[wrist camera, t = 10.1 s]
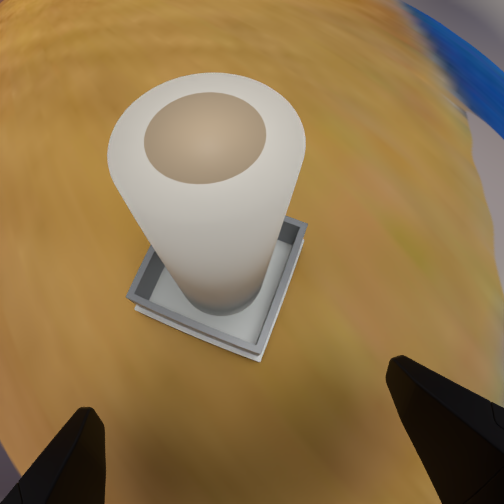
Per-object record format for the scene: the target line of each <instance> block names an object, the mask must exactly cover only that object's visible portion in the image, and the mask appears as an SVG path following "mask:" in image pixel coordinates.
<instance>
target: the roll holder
mask: <svg viewBox="0 0 504 504" xmlns="http://www.w3.org/2000/svg"><path fill="white" fill-rule="evenodd" d="M307 225H308V224H307V223H304V222H301V221H299V220H296V219H293V218H291V217H288V216H285V218H284V221H283V224H282V227H281V230H280V233H279V236H278V239H277V242H276V245H275V248H274V251H273V254H272V257H271V260H270V263H269V266H268V269H267V272H266V275H265V278H264V281H263V284H262V287H261V290H260V292H259V294H258V296H257V297H256V299H255V300H254V301H253V303H252V304H251V305H250V306H248V307H247V308H246V309H244V310H243V311H241V312H239V313H236V314H233V315H229V316H213V315H209V314H206V313H204V312H202V311H200V310H198V309H197V308H195V307H194V306H193V305H192V304H191V303H190V302H189V301H188V299H187V298H186V297H185V295H184V294H183V292H182V291H181V289H180V288H179V286H178V285H177V283H176V282H175V280H174V279H173V277H172V276H171V274H170V273H169V271H168V270H167V268H166V267H165V265H164V264H163V262H162V261H161V259H160V258H159V256H158V255H157V253H156V251H155V250H154V248H153V247H152V245H151V246H150V248H149V250H148V252H147V254H146V256H145V258H144V260H143V262H142V264H141V266H140V268H139V270H138V272H137V274H136V276H135V278H134V280H133V283H132V285H131V287H130V289H129V291H128V293H127V295H126V298H127V299H129V300H130V301H132V302H133V303H135V304H136V307H135V310H136V311H138V312H140V313H142V314H145V315H147V316H149V317H151V318H153V319H155V320H158V321H160V322H162V323H164V324H166V325H169V326H171V327H173V328H175V329H178V330H180V331H182V332H185V333H187V334H189V335H192V336H194V337H196V338H199V339H201V340H204V341H206V342H208V343H211V344H213V345H216V346H218V347H221V348H223V349H226V350H228V351H231V352H233V353H236V354H239V355H241V356H244V357H247V358H249V359H252V360H255V361H257V362H260V361H261V359H262V356H263V353H264V351H265V348H266V346H267V343H268V340H269V338H270V335H271V332H272V330H273V327H274V324H275V322H276V319H277V316H278V313H279V311H280V308H281V305H282V302H283V300H284V297H285V294H286V291H287V289H288V286H289V283H290V280H291V277H292V275H293V272H294V269H295V266H296V263H297V260H298V257H299V254H300V252H301V249H302V246H303V243H304V240H303V237H304V234H305V231H306V228H307Z"/></svg>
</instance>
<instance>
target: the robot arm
mask: <svg viewBox="0 0 504 504" xmlns="http://www.w3.org/2000/svg"><path fill="white" fill-rule="evenodd" d="M386 383H387V386H388V388H389V391H390V393H391V396H392V398H393V401H394V404H395V406H396V409H397V412H398V414H399V417H400V419H401V422H402V424H403V426H404V428H405V430H406V432H407V433H408V435H409V437H410V439H411V441H412V443H413V445H414V447H415V449H416V451H417V453H418V455H419V457H420V459H421V461H422V463H423V465H424V467H425V469H426V471H427V473H428V475H429V477H430V479H431V482H432V484H433V486H434V488H435V490H436V492H437V494H438V496H439V498H440V500H441V503H442V504H504V408H503V407H501V406H499V405H497V404H495V403H493V402H490V401H489V400H487V399H485V398H483V397H481V396H479V395H478V394H476V393H474V392H472V391H470V390H468V389H466V388H464V387H462V386H460V385H459V384H457V383H455V382H453V381H451V380H449V379H447V378H445V377H443V376H442V375H440V374H438V373H436V372H434V371H432V370H430V369H428V368H427V367H425V366H423V365H421V364H419V363H417V362H415V361H413V360H412V359H410V358H408V357H406V356H404V355H400V356H397V357H394V358H391V360H390V361H389V365H388V369H387V373H386ZM105 481H106V460H105V428H104V424H103V422H102V421H101V419H100V418H99V416H98V415H97V413H96V412H95V410H94V409H93V408H91V407H80V408H79V409H78V410H77V411H76V412H75V413H74V414H73V416H72V417H71V418H70V419H69V420H68V422H67V423H66V424H65V425H64V426H63V427H62V429H61V430H60V431H59V432H58V433H57V435H56V436H55V437H54V438H53V439H52V441H51V442H50V443H49V444H48V446H47V447H46V448H45V449H44V450H43V452H42V453H41V454H40V455H39V456H38V458H37V459H36V460H35V461H34V463H33V464H32V465H31V466H30V468H29V469H28V470H27V471H26V472H25V474H24V475H23V476H22V478H21V479H20V480H19V483H17V484H16V485H15V486H14V487H13V489H12V490H11V491H10V492H9V493H8V495H7V496H6V497H5V498H4V499H3V501H2V502H1V503H0V504H104V503H105Z"/></svg>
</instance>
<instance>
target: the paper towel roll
mask: <svg viewBox="0 0 504 504" xmlns="http://www.w3.org/2000/svg"><path fill="white" fill-rule="evenodd" d="M305 148H306V147H305V133H304V128H303V126H302V123H301V120H300V118H299V116H298V115H297V113H296V111H295V110H294V108H293V107H292V106H291V104H290V103H289V102H288V101H287V100H286V99H285V98H284V97H283V96H281V95H280V94H279V93H277V92H276V91H275V90H273V89H272V88H270V87H268V86H267V85H265V84H262V83H260V82H258V81H256V80H253V79H250V78H247V77H243V76H239V75H234V74H227V73H200V74H192V75H187V76H183V77H179V78H176V79H173V80H170V81H167V82H165V83H163V84H160V85H158V86H156V87H155V88H153V89H151V90H149V91H148V92H146V93H145V94H143V95H142V96H141V97H139V98H138V99H137V100H136V101H134V102H133V103H132V104H131V105H130V106H129V107H128V108H127V109H126V111H125V112H124V113H123V114H122V116H121V117H120V118H119V120H118V122H117V124H116V125H115V127H114V129H113V132H112V134H111V137H110V141H109V145H108V154H107V157H108V167H109V171H110V175H111V177H112V179H113V182H114V184H115V186H116V187H117V189H118V191H119V193H120V194H121V196H122V198H123V199H124V201H125V203H126V204H127V206H128V208H129V209H130V211H131V213H132V214H133V216H134V218H135V219H136V221H137V223H138V224H139V226H140V228H141V229H142V231H143V232H144V234H145V236H146V237H147V239H148V240H149V242H150V244H151V245H152V247H153V248H154V250H155V251H156V253H157V255H158V256H159V258H160V259H161V261H162V262H163V264H164V265H165V267H166V268H167V270H168V271H169V273H170V274H171V276H172V277H173V279H174V280H175V282H176V283H177V285H178V286H179V288H180V289H181V291H182V292H183V294H184V295H185V297H186V298H187V299H188V301H189V302H190V303H191V304H192V305H193V306H194V307H195V308H197V309H198V310H200V311H202V312H204V313H206V314H209V315H213V316H229V315H233V314H236V313H239V312H241V311H243V310H244V309H246V308H247V307H248V306H250V305H251V304H252V303H253V301H254V300H255V299H256V297H257V296H258V294H259V292H260V290H261V287H262V284H263V281H264V278H265V275H266V272H267V269H268V266H269V263H270V260H271V257H272V254H273V251H274V248H275V245H276V242H277V239H278V236H279V233H280V230H281V227H282V224H283V221H284V218H285V215H286V212H287V209H288V206H289V203H290V200H291V197H292V194H293V190H294V187H295V184H296V181H297V178H298V175H299V172H300V169H301V166H302V162H303V159H304V154H305Z"/></svg>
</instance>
